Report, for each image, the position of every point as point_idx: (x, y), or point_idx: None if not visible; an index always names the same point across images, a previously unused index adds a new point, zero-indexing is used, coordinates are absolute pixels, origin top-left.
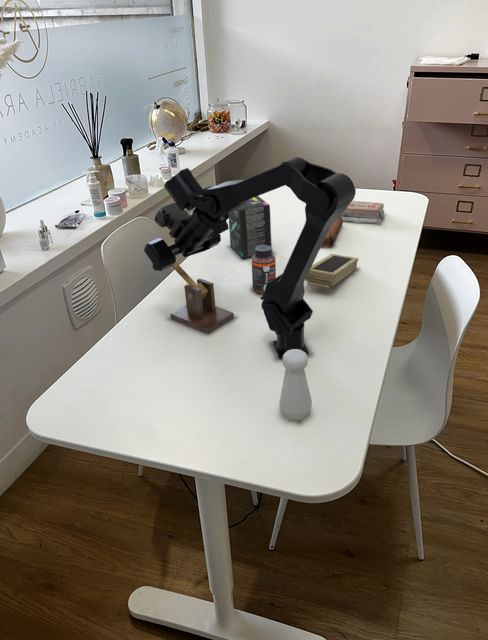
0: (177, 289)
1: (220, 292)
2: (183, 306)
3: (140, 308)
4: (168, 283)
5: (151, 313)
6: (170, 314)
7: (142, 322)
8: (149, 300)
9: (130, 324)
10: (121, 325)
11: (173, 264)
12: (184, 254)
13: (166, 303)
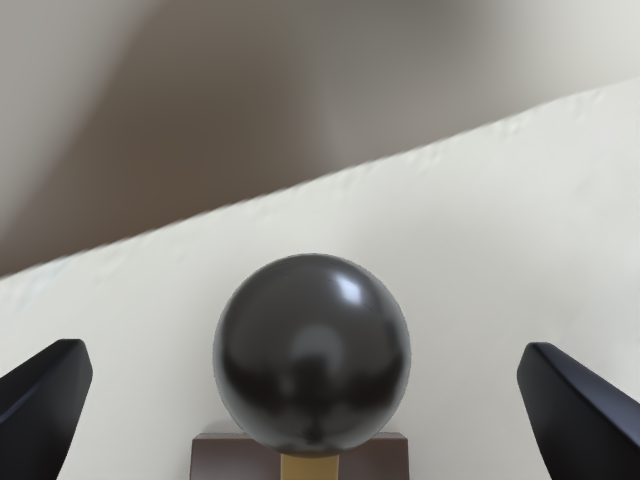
0: (440, 225)
1: None
2: None
3: (196, 222)
4: (454, 146)
5: (187, 304)
6: (194, 440)
7: (94, 337)
8: (279, 198)
9: (48, 302)
10: (20, 273)
11: (282, 466)
12: (536, 389)
13: None
